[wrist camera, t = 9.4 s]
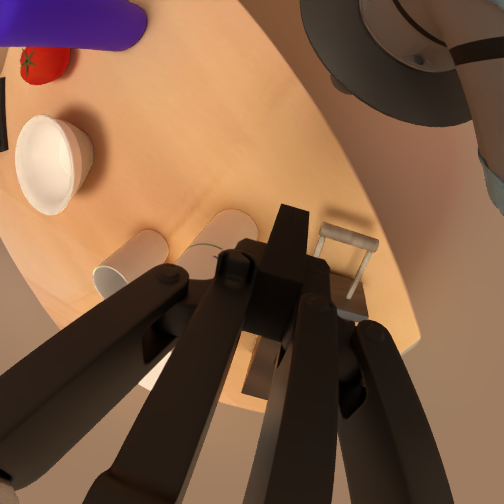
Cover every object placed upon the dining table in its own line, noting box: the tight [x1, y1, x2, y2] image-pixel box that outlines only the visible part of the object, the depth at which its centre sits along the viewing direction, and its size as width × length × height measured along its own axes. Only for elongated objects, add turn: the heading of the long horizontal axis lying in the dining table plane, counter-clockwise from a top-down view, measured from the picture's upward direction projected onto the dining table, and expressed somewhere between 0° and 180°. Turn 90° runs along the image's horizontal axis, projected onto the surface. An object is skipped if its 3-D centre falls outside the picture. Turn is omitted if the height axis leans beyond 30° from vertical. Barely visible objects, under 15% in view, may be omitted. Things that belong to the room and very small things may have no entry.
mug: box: [93, 230, 169, 300], centre depth 41 cm, size 10×7×12 cm, turn 43°
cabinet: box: [241, 335, 283, 400], centre depth 44 cm, size 15×13×10 cm
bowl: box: [15, 115, 94, 215], centre depth 37 cm, size 16×16×9 cm
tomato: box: [20, 47, 70, 85], centre depth 28 cm, size 9×10×8 cm
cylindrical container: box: [138, 209, 258, 390], centre depth 31 cm, size 7×7×25 cm
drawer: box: [282, 222, 379, 339], centre depth 38 cm, size 22×11×8 cm, turn 168°
